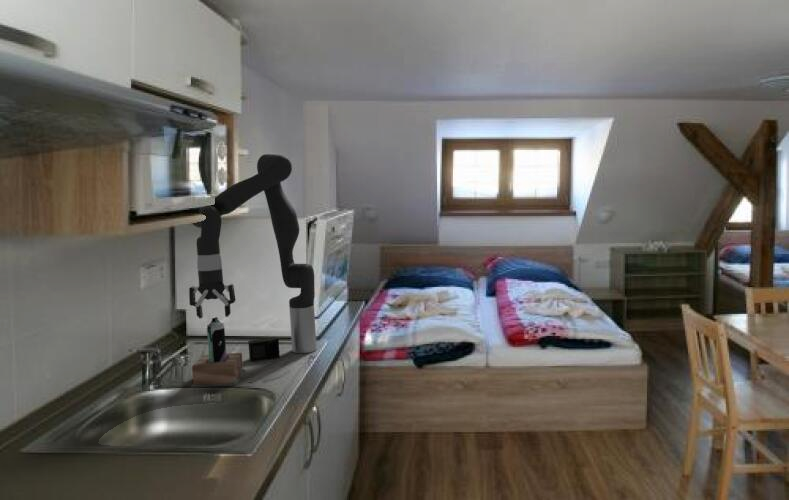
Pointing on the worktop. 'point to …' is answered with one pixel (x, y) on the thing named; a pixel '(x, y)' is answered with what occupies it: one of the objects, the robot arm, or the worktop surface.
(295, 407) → the worktop surface
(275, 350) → the digital camera
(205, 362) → the socket block
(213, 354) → the spray can
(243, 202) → the robot arm
